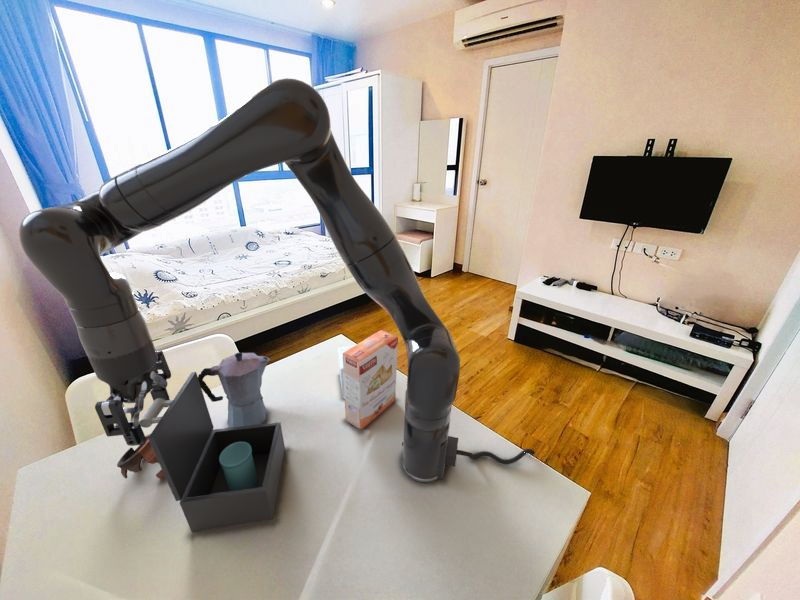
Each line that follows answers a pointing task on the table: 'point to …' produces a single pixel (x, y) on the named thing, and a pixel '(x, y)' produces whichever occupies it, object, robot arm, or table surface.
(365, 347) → the cracker box
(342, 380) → the cosmetics box
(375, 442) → the table surface
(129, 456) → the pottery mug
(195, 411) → the lid
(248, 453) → the container
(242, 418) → the moka pot
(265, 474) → the open box
